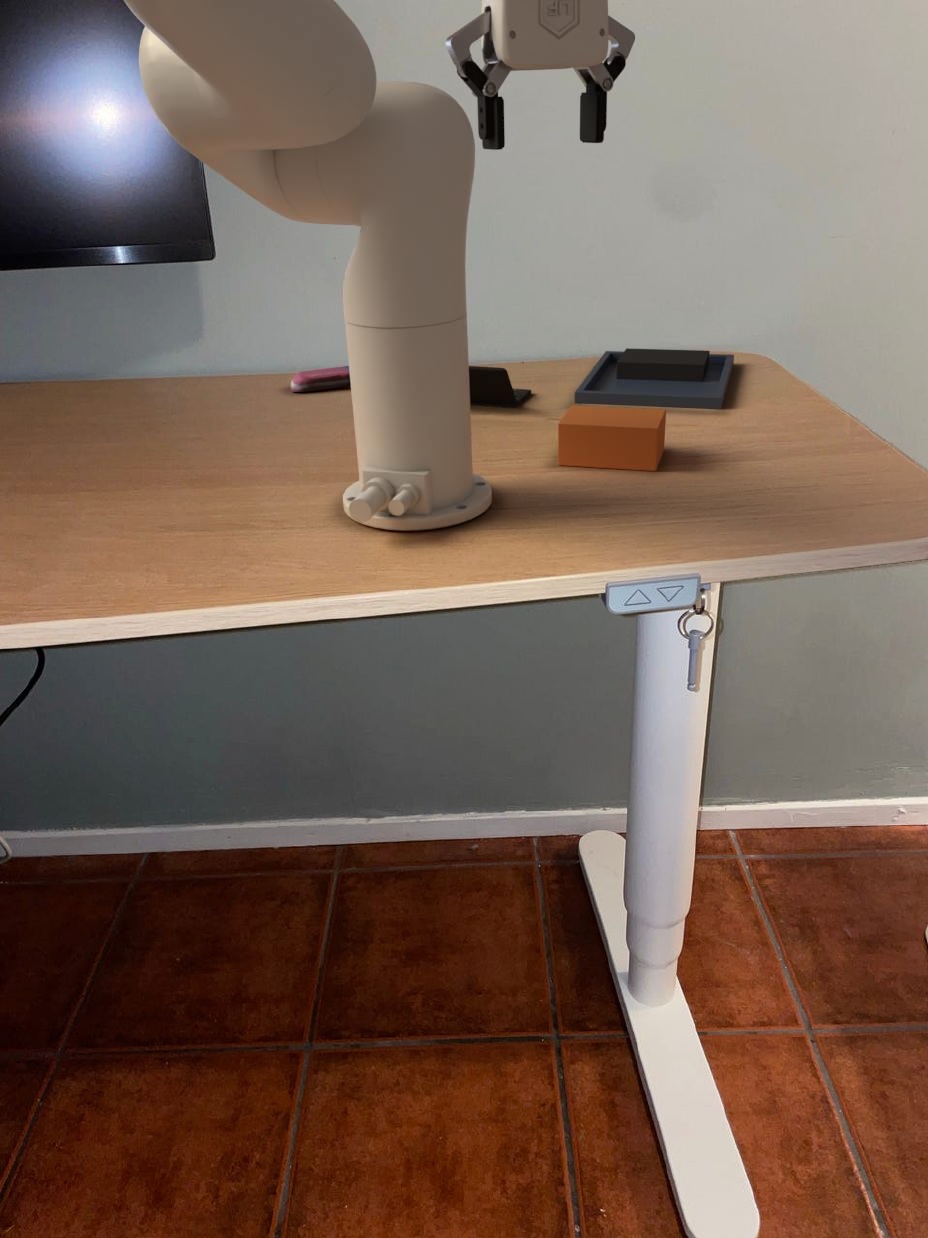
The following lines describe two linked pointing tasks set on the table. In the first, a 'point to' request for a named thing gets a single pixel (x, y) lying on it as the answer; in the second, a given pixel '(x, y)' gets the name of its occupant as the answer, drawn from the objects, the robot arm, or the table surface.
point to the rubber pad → (663, 365)
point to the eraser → (321, 379)
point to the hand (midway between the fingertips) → (543, 145)
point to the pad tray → (655, 386)
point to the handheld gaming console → (494, 388)
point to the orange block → (611, 437)
